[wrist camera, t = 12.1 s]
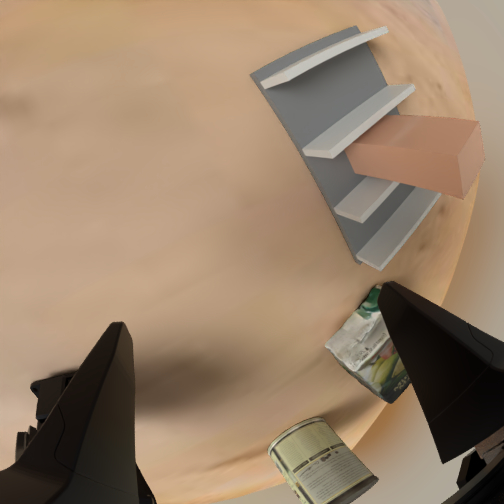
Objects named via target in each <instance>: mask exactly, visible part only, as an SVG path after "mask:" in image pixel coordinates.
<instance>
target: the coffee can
mask: <svg viewBox="0 0 504 504" xmlns="http://www.w3.org/2000/svg"><path fill="white" fill-rule="evenodd" d="M268 455H269V456H270V457H271V458H272V460H273V461H274V463H275V464H276V466H277V468H278V469H279V471H280V472H281V474H282V475H283V476H284V478H285V479H286V481H287V482H288V484H289V485H290V487H291V488H292V489H293V491H294V492H295V494H296V495H297V497H298V498H299V499H300V501H301V502H302V503H303V504H350V503H351V502H353V501H354V500H356V499H357V498H358V497H360V496H361V495H362V494H364V493H365V492H366V491H368V490H369V489H370V488H371V487H372V486H374V484H376V482H378V480H379V479H378V478H377V477H376V476H374V475H373V474H372V473H371V472H370V471H369V469H368V468H366V466H365V465H364V464H363V463H362V462H361V461H360V460H359V459H358V458H357V457H356V455H355V454H354V453H353V452H352V451H351V450H350V449H349V448H348V447H347V446H346V444H345V443H344V442H343V441H342V440H341V439H340V438H339V436H338V435H337V434H336V433H335V432H334V431H333V430H332V429H331V427H330V426H329V425H328V424H327V423H326V421H325V420H324V419H323V418H320V417H316V418H311V419H308V420H305V421H303V422H301V423H298V424H296V425H294V426H293V427H291V428H289V429H288V430H286V431H285V432H284V433H282V434H281V435H280V436H278V437H277V438H276V439H275V440H274V441H273V442H272V443H271V445H270V446H269V448H268Z"/></svg>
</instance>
